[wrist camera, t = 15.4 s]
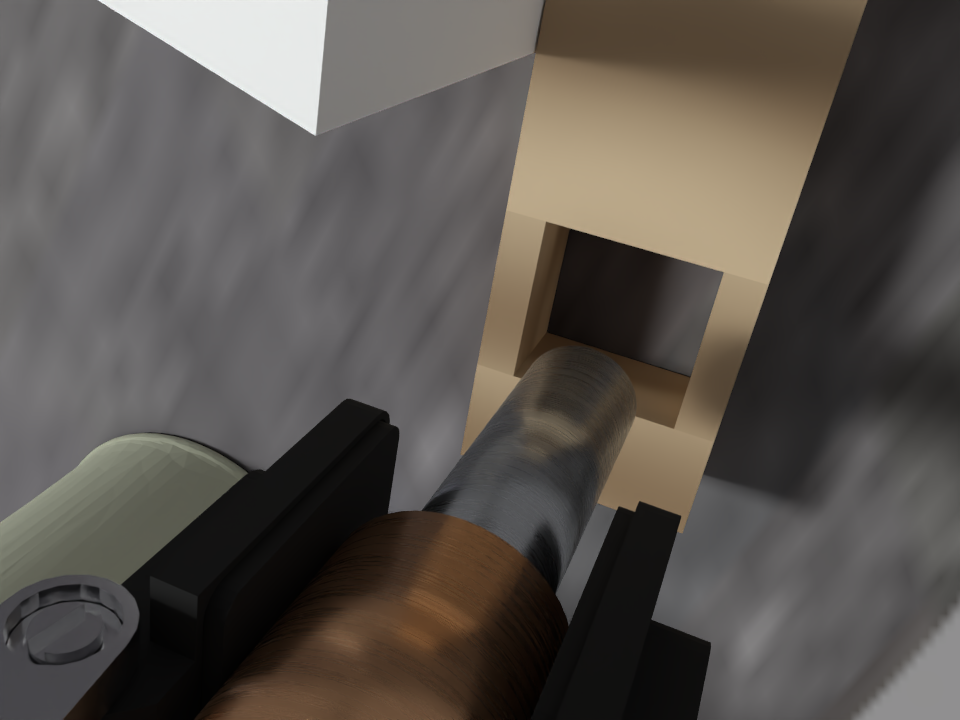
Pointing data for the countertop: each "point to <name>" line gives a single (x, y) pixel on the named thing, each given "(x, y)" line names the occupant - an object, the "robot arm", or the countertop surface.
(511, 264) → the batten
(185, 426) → the countertop surface
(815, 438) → the countertop surface
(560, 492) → the awl
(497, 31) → the white angled block
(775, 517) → the countertop surface
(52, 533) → the can
